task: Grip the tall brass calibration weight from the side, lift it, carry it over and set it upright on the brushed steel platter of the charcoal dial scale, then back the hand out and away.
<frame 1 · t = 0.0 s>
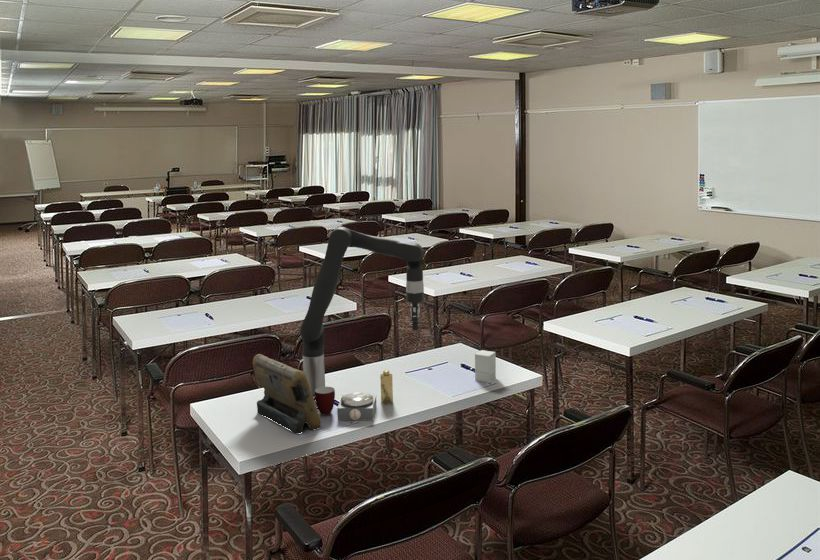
hand: (415, 327, 291), 29 cm above the table, tool pointing down, fingers open, 8 cm apart
scale platter: (357, 399, 273), point 6 cm above the table, slide at 0.8 cm
mug: (322, 414, 274), on the table
tablet: (287, 420, 269), on the table
scale housing: (357, 413, 274), on the table
calibration weight: (387, 402, 285), on the table
supplement box: (485, 379, 310), on the table
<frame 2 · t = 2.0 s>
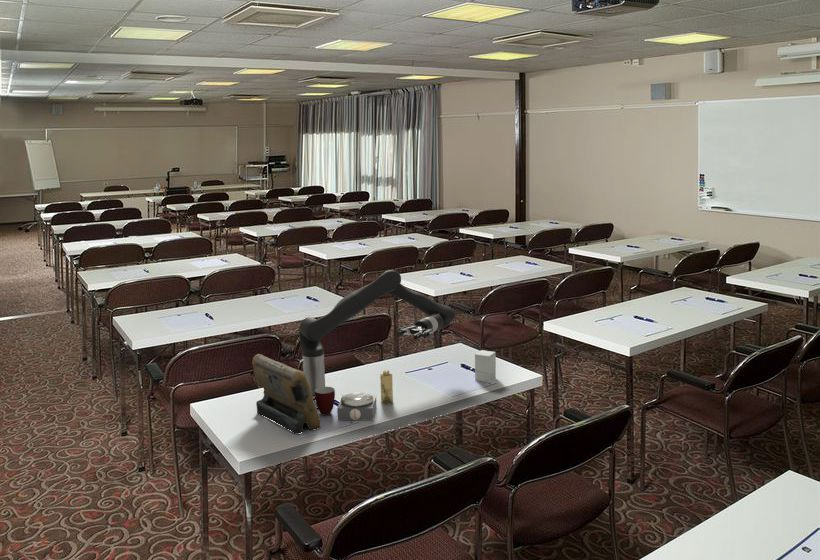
hand: (406, 336, 288), 26 cm above the table, tool horizontal, fingers open, 8 cm apart
nothing on the table moved.
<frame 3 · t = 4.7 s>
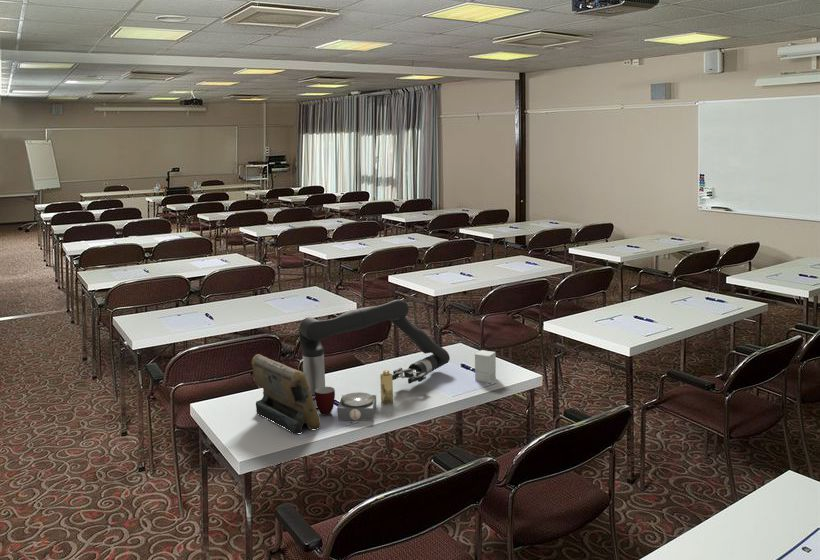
hand: (400, 379, 293), 7 cm above the table, tool horizontal, fingers open, 8 cm apart
nothing on the table moved.
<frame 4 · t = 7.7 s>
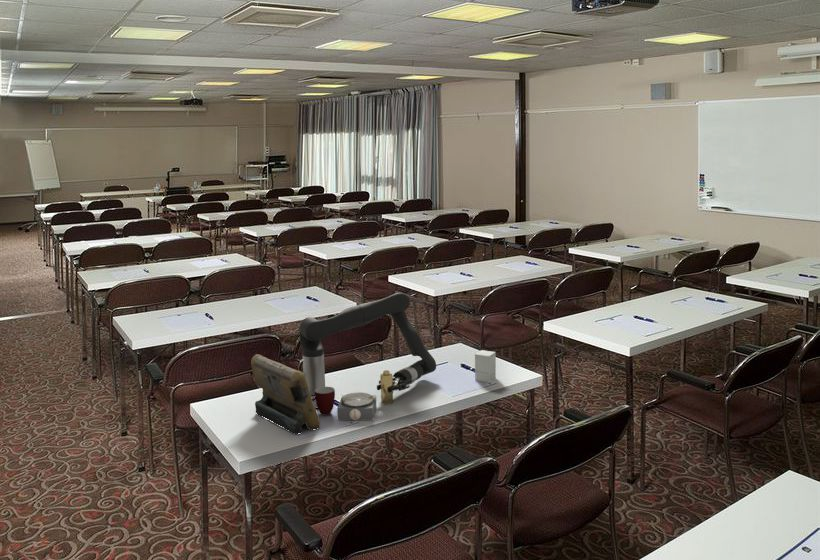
hand: (383, 389, 282), 7 cm above the table, tool horizontal, fingers closed on calibration weight, 5 cm apart
calibration weight: (387, 402, 285), on the table, touching gripper
everything else where it was.
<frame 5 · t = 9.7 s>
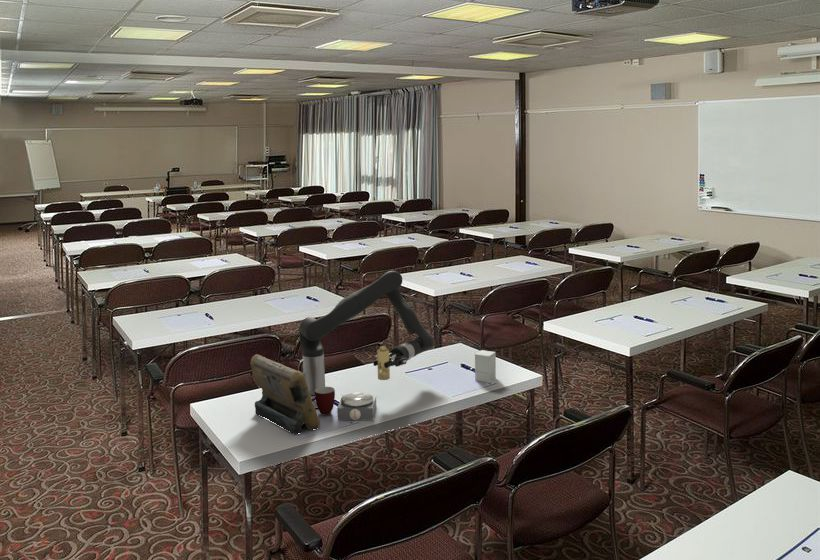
hand: (379, 364, 279), 18 cm above the table, tool horizontal, fingers closed on calibration weight, 5 cm apart
calibration weight: (383, 378, 282), point 11 cm above the table, touching gripper
everything else where it was.
when the fingers open (15 cm above the table, at t = 12.0 s): calibration weight drops 2 cm, resting on scale platter.
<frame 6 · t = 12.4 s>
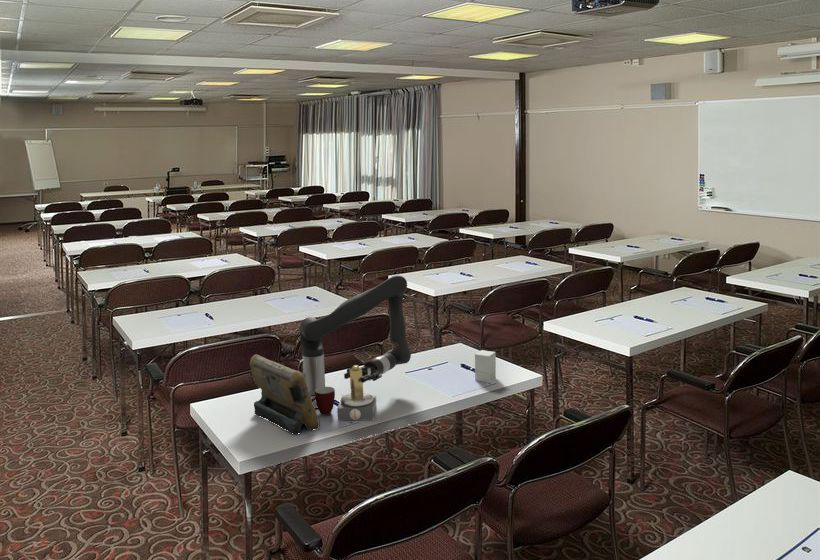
hand: (353, 378, 269), 15 cm above the table, tool horizontal, fingers open, 8 cm apart
scale platter: (357, 399, 273), point 6 cm above the table, slide at 0.9 cm, touching calibration weight
calibration weight: (357, 398, 273), point 6 cm above the table, touching scale platter
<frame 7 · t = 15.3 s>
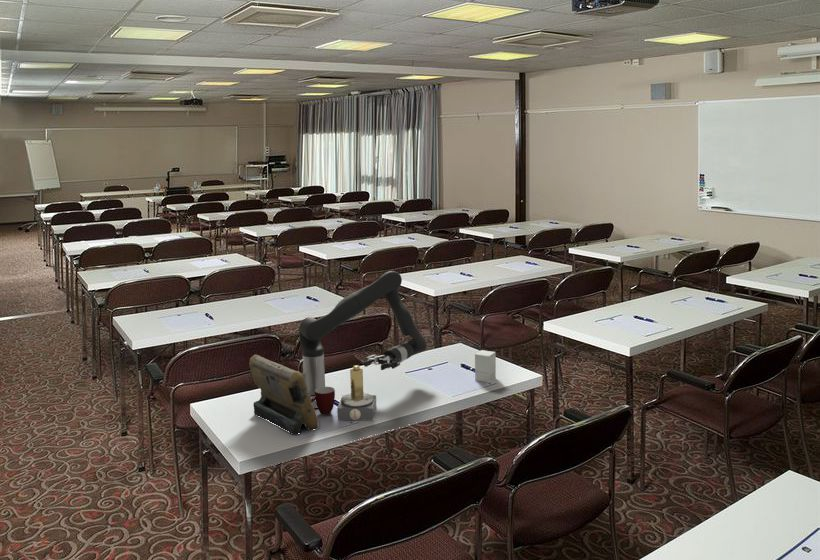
hand: (373, 366, 280), 17 cm above the table, tool horizontal, fingers open, 8 cm apart
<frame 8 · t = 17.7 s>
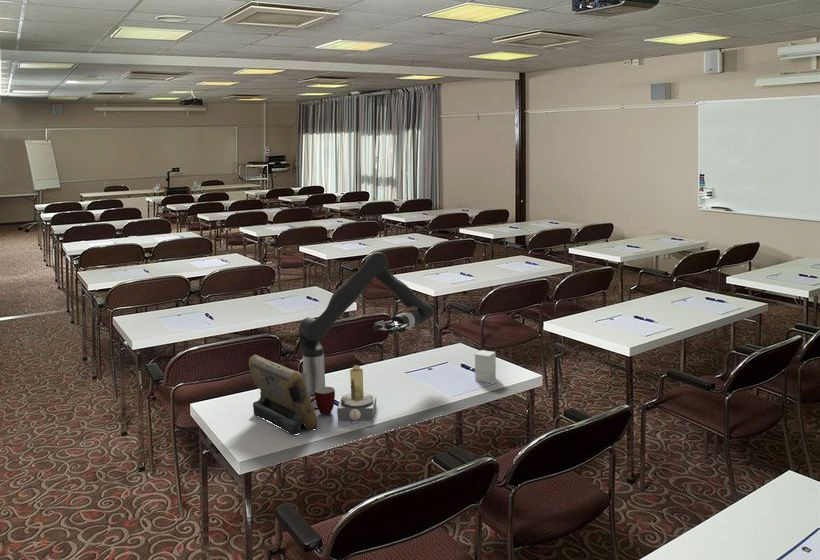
hand: (381, 330, 283), 30 cm above the table, tool horizontal, fingers open, 8 cm apart
at the end: calibration weight inside the target area on the scale housing (0.1 cm from its centre), point 6.3 cm above the scale housing's base; calibration weight tilted 0°; the gripper is holding nothing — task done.
